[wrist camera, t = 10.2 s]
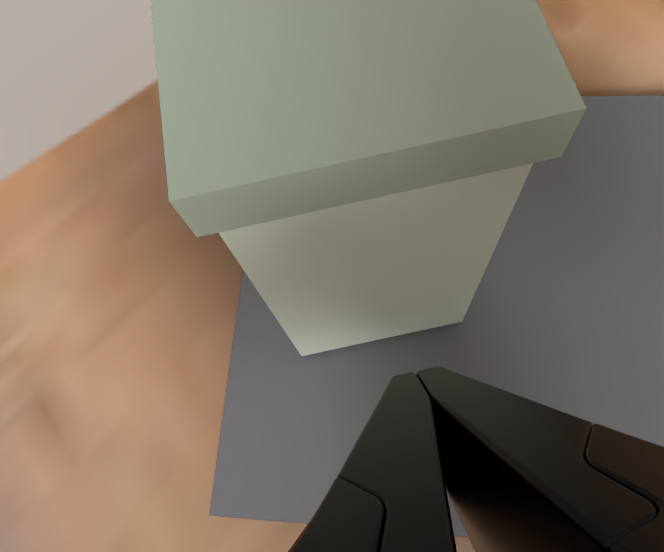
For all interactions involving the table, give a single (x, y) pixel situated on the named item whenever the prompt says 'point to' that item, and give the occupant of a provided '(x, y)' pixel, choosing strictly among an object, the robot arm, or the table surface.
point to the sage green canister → (358, 148)
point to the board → (480, 326)
